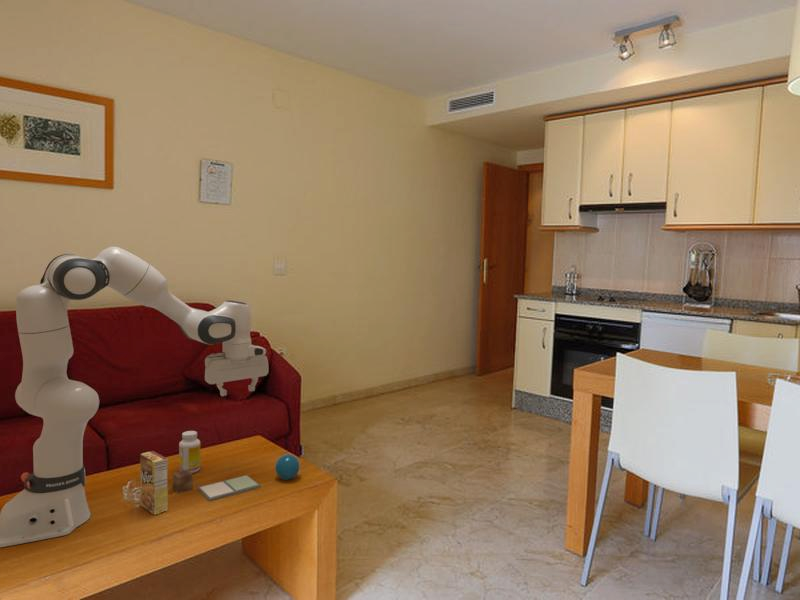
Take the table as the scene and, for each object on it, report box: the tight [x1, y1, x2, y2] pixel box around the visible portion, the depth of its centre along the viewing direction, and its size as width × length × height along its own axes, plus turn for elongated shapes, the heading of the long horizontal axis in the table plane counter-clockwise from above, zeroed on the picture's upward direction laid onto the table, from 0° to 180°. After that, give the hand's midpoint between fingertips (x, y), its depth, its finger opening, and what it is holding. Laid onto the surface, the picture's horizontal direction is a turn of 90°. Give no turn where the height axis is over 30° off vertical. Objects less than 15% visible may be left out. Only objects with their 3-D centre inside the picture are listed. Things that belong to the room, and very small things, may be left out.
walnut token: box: [172, 469, 194, 494], centre depth 165 cm, size 4×4×5 cm
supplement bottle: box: [178, 430, 202, 474], centre depth 179 cm, size 7×7×13 cm
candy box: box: [139, 450, 169, 516], centre depth 152 cm, size 9×4×15 cm, turn 50°
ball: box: [274, 453, 301, 481], centre depth 175 cm, size 8×8×8 cm
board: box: [197, 474, 261, 502], centre depth 167 cm, size 16×10×1 cm, turn 130°
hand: (237, 393), depth 172 cm, fingers open, 8 cm apart
